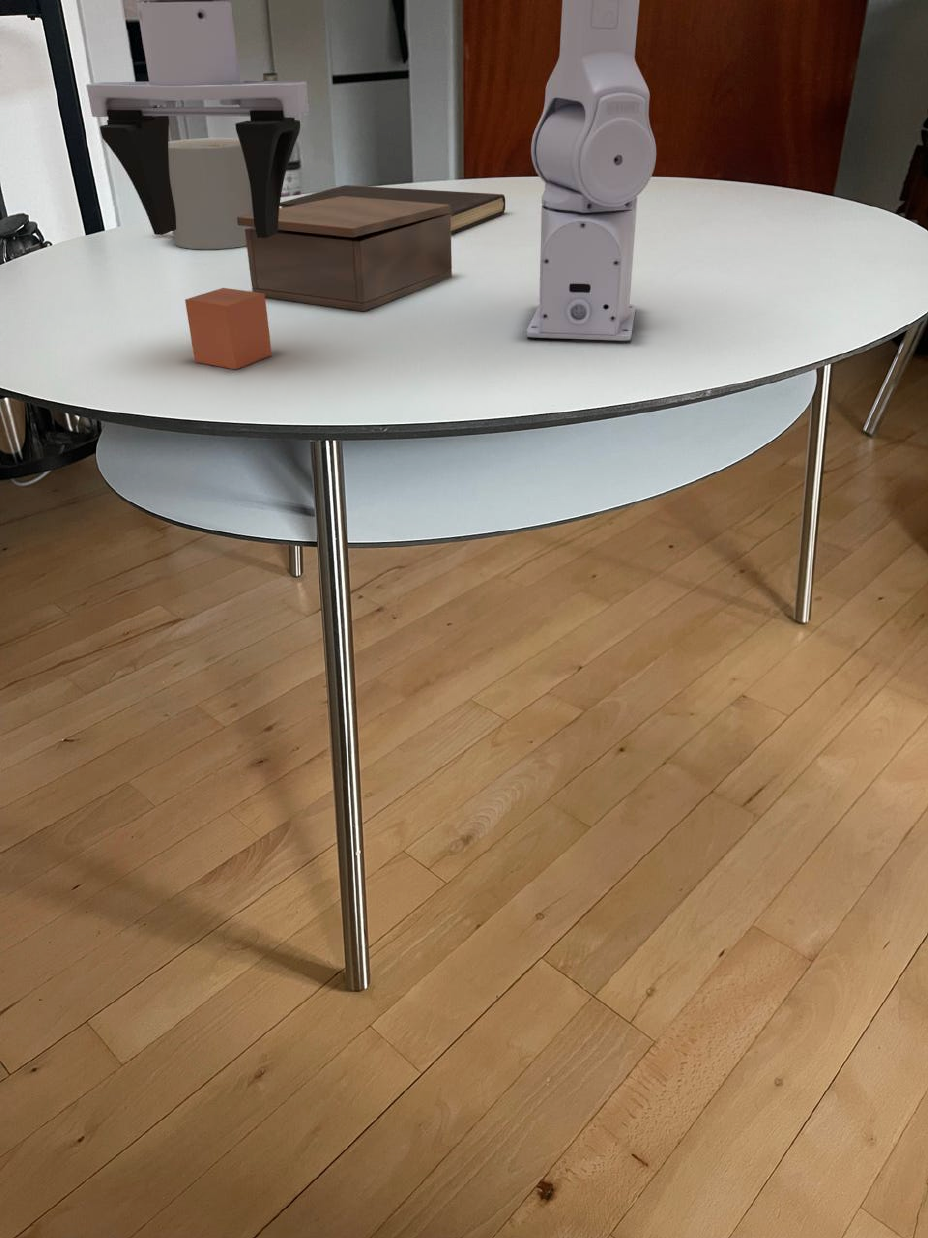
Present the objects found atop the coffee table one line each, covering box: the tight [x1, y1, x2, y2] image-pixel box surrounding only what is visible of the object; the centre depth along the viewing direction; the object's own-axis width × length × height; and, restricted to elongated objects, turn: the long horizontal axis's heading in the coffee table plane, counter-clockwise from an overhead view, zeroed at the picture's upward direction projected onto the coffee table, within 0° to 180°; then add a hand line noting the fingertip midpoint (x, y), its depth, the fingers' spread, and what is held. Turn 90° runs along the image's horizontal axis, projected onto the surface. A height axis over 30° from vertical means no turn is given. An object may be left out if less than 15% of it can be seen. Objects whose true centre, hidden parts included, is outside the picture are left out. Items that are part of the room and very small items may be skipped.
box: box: [245, 213, 453, 312], centre depth 90 cm, size 14×12×6 cm
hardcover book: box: [280, 184, 506, 236], centre depth 121 cm, size 16×23×2 cm
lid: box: [237, 196, 451, 237], centre depth 88 cm, size 15×12×1 cm
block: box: [184, 287, 273, 370], centre depth 72 cm, size 4×4×4 cm
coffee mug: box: [168, 137, 253, 250], centre depth 110 cm, size 13×10×10 cm
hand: (216, 233), depth 68 cm, fingers open, 7 cm apart
